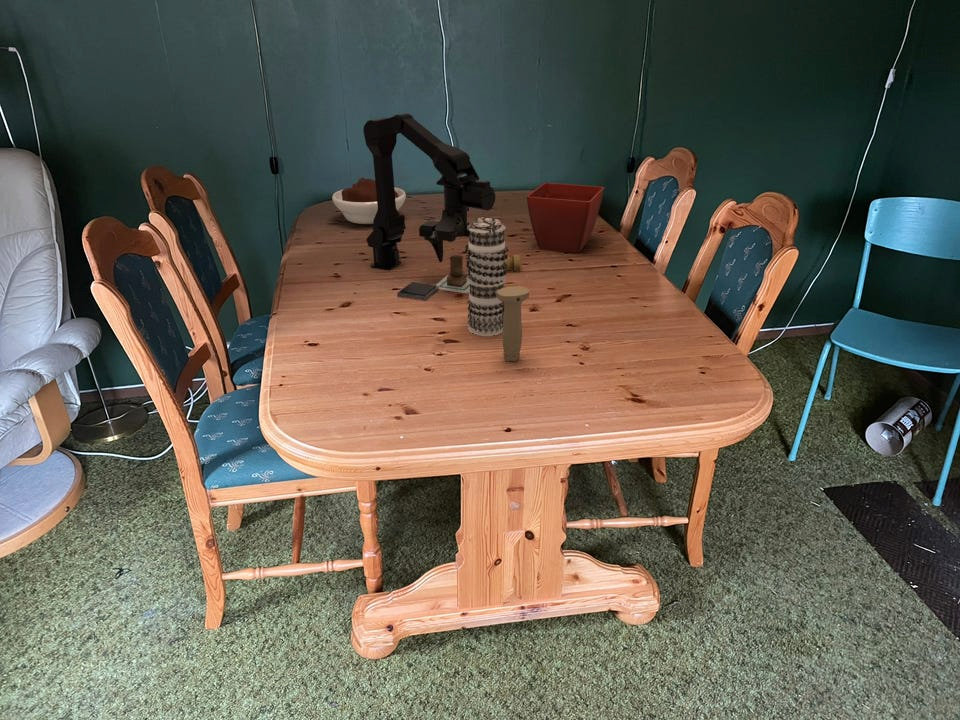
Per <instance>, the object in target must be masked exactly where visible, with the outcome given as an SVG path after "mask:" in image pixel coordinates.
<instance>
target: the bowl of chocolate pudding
mask: <svg viewBox="0 0 960 720" xmlns="http://www.w3.org/2000/svg"><path fill="white" fill-rule="evenodd" d="M394 189H395V202H396V209H397V210H398V211H399V210H400V208H401V207H402V206H403V204H404V203H405V201H406V197H407V196H406V194H407V193H406V192H405V190H403V189H402V188H398V187H395V186H394ZM331 199H332V202H333V204H334V206H335V207H337V209H338V210H339V211H341V213H342V214H343V216H344V218H345V220H347V221H348V222H351V223H353V224H359V225H373V220H374V218H375V215H376V213H377V210H378V205H377V194H376V184H375V179H371V178H365V177H360V178H358V180H357V182H356V183H353V184H352V185H351V187H347V188H344V189H340V190H338V191H336V192H334V193H333V194H332V197H331Z"/></svg>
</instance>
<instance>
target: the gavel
mask: <svg viewBox="0 0 960 720" xmlns="http://www.w3.org/2000/svg"><path fill="white" fill-rule="evenodd" d="M503 262H505V263H506V264H507V267H506V268H505V269H504V270H506V271H507V272H508V271H512V272H520V271H521V269H522V267H521V266H522V263H521V262H522V259H521V255H520V254H515V255H514V254H513V255H512V256H508V258H507V259H505V261H504V260H503Z"/></svg>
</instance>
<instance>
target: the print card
mask: <svg viewBox="0 0 960 720" xmlns="http://www.w3.org/2000/svg"><path fill="white" fill-rule="evenodd" d="M447 276H448V275H447V274H446V276H445V277H443V278H442V279H441V280H440V281H439V282H437V283H436V284H435V285H436V286H439V290H441V291H446V292H454V293H460V294H468V295H469V291H470V283H469V282H468V277H467V282H466V283H465V284H464V285H463V286H462V287H455V286H447ZM439 290H438V291H439Z"/></svg>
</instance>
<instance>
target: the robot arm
mask: <svg viewBox="0 0 960 720" xmlns="http://www.w3.org/2000/svg"><path fill="white" fill-rule="evenodd" d="M362 129H363V136H364V140H365V145H366V147H367V148H368V151H369V152H370V153H371V154H372V158H373V161H372V162H373V172H374V180H375V184H376V194H377V205H378V210H377V213H376V215H375V218H374V220H373V224H372V232H371V233H370V234H369V235H368V236H367V238H366V239H365V240H366V243H367V246H368V247H369V248H372V255H373V263H372V264H371V268H377V269H385V270H392V269H394V268H395V267H397V266H398V265H400V264H401V263H402V261H401V260H400V250H399V249H398V243H401V242H402V238H403V235H404V234H405V229H407V227H406V224H405V223H406V222H405V220H406V218H405V215H404V214H400V212H399V210H397V209H396V202H395V189H394V187H395V180H394V179H395V177H394V168H393V167H394V166H393V165H394V164H393V153H394V149H395V147H396V145H397V139H398V135H400V134H401V135H402V136H403V137H404V138H406V140H408V141H410V142H411V143H412V144H413V145H414V146H415V147H416V148H418V149H419V150H420V151H422V152H423V154H426V155H425V156H428V157H429V158H430V159H431V160H432V163H433V167H434V168H435V169H436V170H437V171H438V172H439V174H440V175H441V177H440V179H438V180H437V181H436V185H437V186H443V203H444V205H443V206H444V209H442V212H441V219H440V220H439V221H437V220H427V221H425V222H423V224H421V225H420V226H419V229H418V232H419V233H418V236H419V237H422V238H423V240H425V241H428V242H429V243H430V244H431V246H432V247H433V249H434V252H435V255H436V257H437V259H438V261H439V263H442V262H443V260H444V259H443V258H444V242H448V243H453V242H454V241H455V240H456V239H457V237H468V238H469V230H468V229H467V227H468V226H469V225H470V222H469V221H468V212H469V211H470V209H475V210H482V211H487V212H488V211H490V210H492V208H493V207H494V205H495V203H496V202H495V201H496V193H495V190H494V188H493V187H492V186H491V181H490V180H480V177H479V175H478V172H477V171H476V169H475V167H474V165H473V164H472V161H471V157H470V155H469V154H468V153H467V152H466V151H464V150H462V149H460V148H458V147H456V146H454V145H450V144H447V143H445V142H443V141H442V140H441V139H439V138H438V137H437V136H436V135H435V134H433V133H432V132H431V131H430V130H429V129H428V128H426V127H425V126H423V125H422V124H421V123H420V122H418V121H417V120H416V119H415V118H414V117H413V115H412V114H410V113H408V112H407V113H400V114H399V113H398V114H395V115H394V116H392V117H382V118H377V119H370V120H367V121H366V122H365V124H363V128H362Z"/></svg>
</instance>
